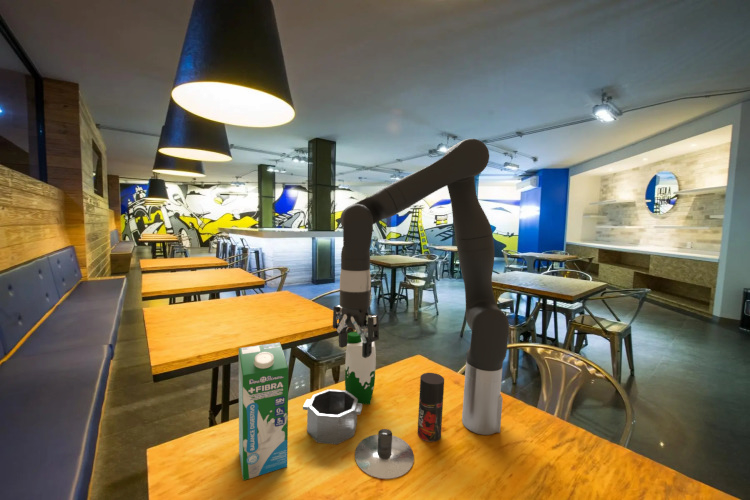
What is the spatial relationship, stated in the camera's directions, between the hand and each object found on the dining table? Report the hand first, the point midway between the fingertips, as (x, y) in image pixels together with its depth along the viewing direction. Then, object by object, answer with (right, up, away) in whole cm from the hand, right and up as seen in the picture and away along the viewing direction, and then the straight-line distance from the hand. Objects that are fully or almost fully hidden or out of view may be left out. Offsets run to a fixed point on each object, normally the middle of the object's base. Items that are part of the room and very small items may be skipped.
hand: (354, 351), depth 80 cm
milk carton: (-20, -22, -8) cm, 31 cm away
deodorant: (+19, -22, +3) cm, 29 cm away
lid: (+7, -23, -5) cm, 25 cm away
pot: (-6, -21, +4) cm, 22 cm away
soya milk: (0, -20, +18) cm, 27 cm away
